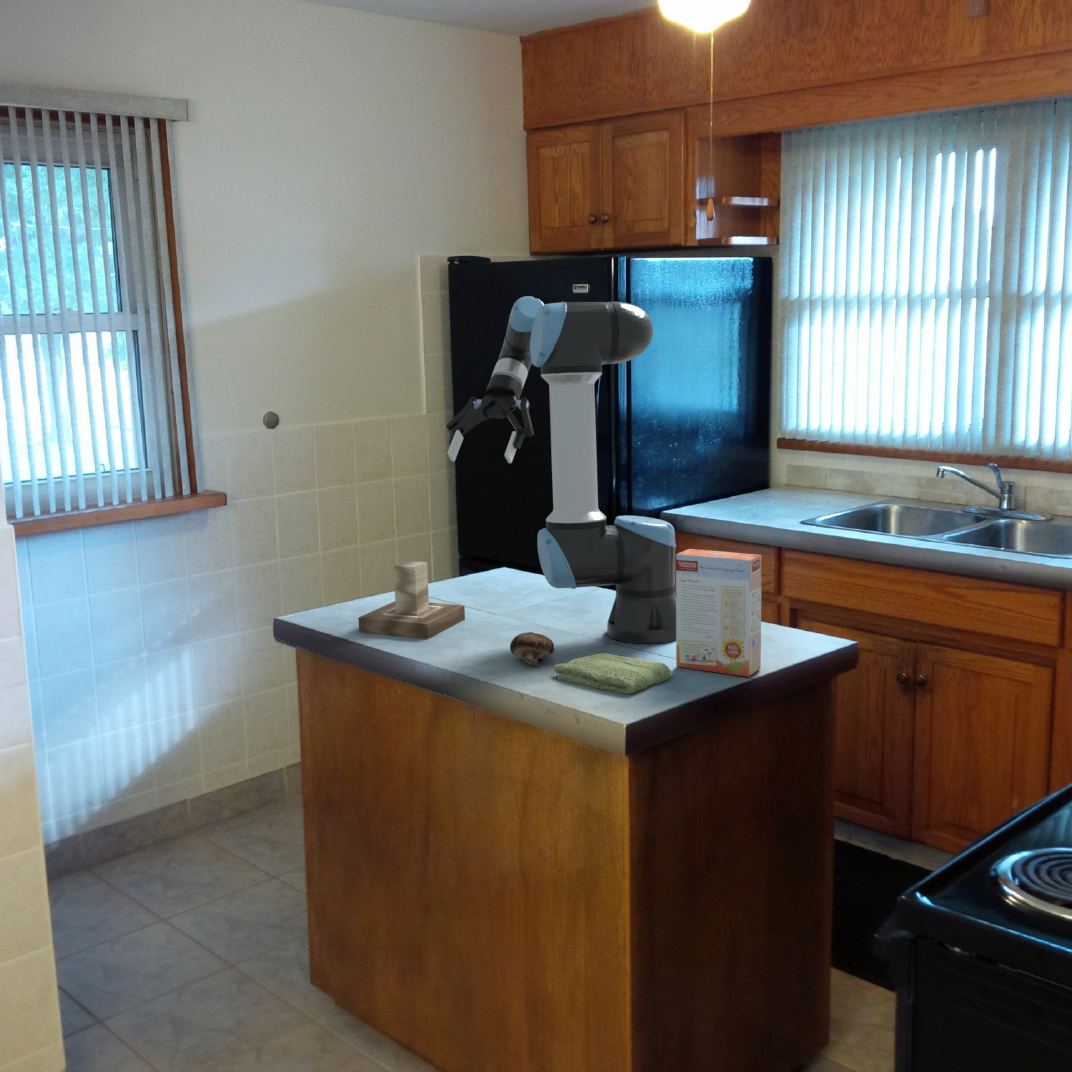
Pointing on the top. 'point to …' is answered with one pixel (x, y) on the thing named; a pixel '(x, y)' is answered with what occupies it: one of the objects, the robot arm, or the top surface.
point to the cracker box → (718, 611)
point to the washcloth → (613, 672)
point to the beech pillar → (411, 587)
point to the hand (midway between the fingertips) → (479, 458)
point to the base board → (412, 620)
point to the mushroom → (531, 647)
